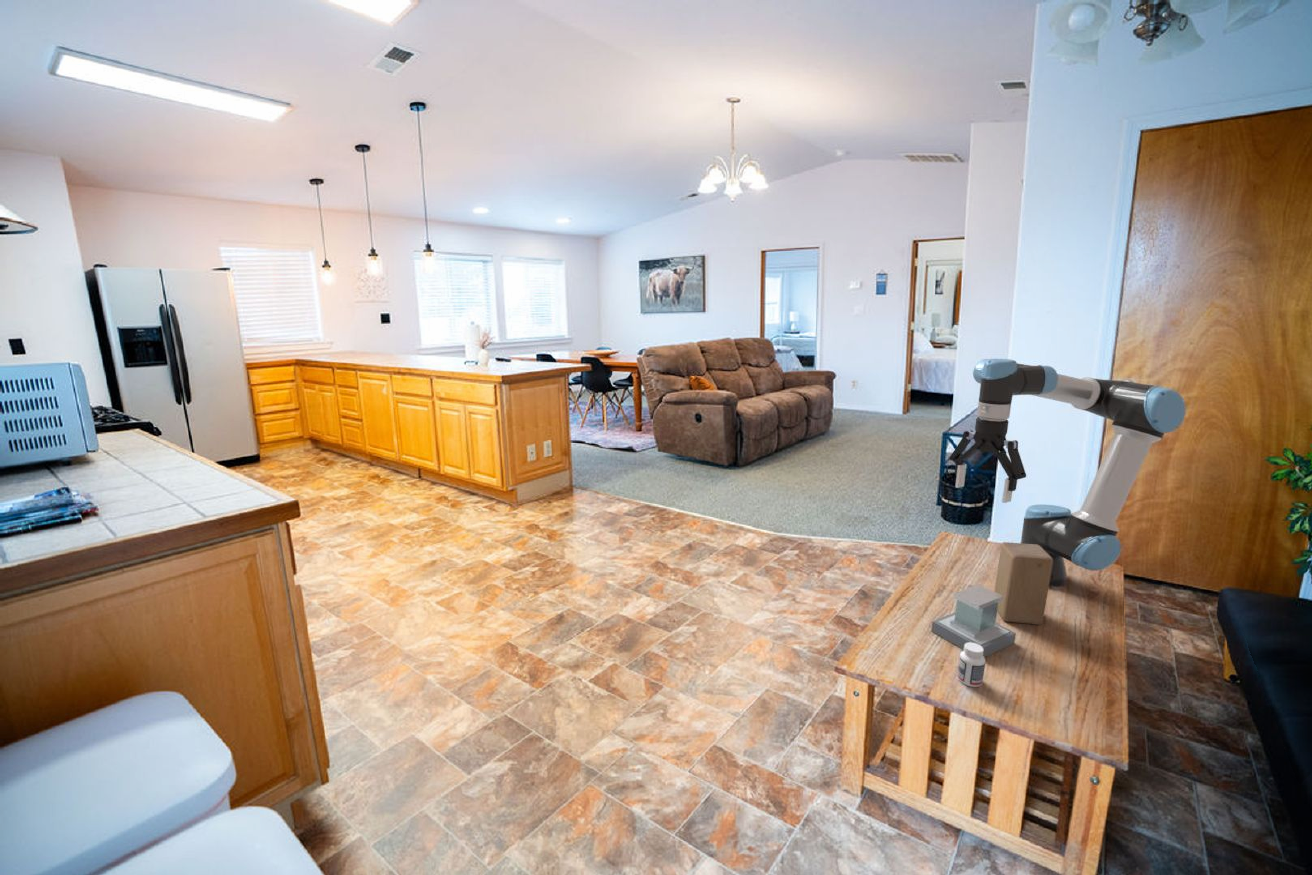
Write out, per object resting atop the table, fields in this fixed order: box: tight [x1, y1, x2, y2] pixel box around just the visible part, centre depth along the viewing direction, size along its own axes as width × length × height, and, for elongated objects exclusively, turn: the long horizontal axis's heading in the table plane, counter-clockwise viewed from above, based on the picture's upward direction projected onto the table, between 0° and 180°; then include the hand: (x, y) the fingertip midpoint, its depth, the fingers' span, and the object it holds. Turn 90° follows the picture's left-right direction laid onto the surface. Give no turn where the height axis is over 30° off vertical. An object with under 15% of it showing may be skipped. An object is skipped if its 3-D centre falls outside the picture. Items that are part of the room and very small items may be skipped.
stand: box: [930, 612, 1017, 658], centre depth 156 cm, size 14×14×3 cm
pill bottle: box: [957, 642, 986, 688], centre depth 138 cm, size 5×5×9 cm
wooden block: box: [993, 541, 1053, 625], centre depth 164 cm, size 10×10×20 cm
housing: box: [950, 584, 1003, 638], centre depth 155 cm, size 7×10×9 cm
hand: (982, 494), depth 162 cm, fingers open, 13 cm apart
